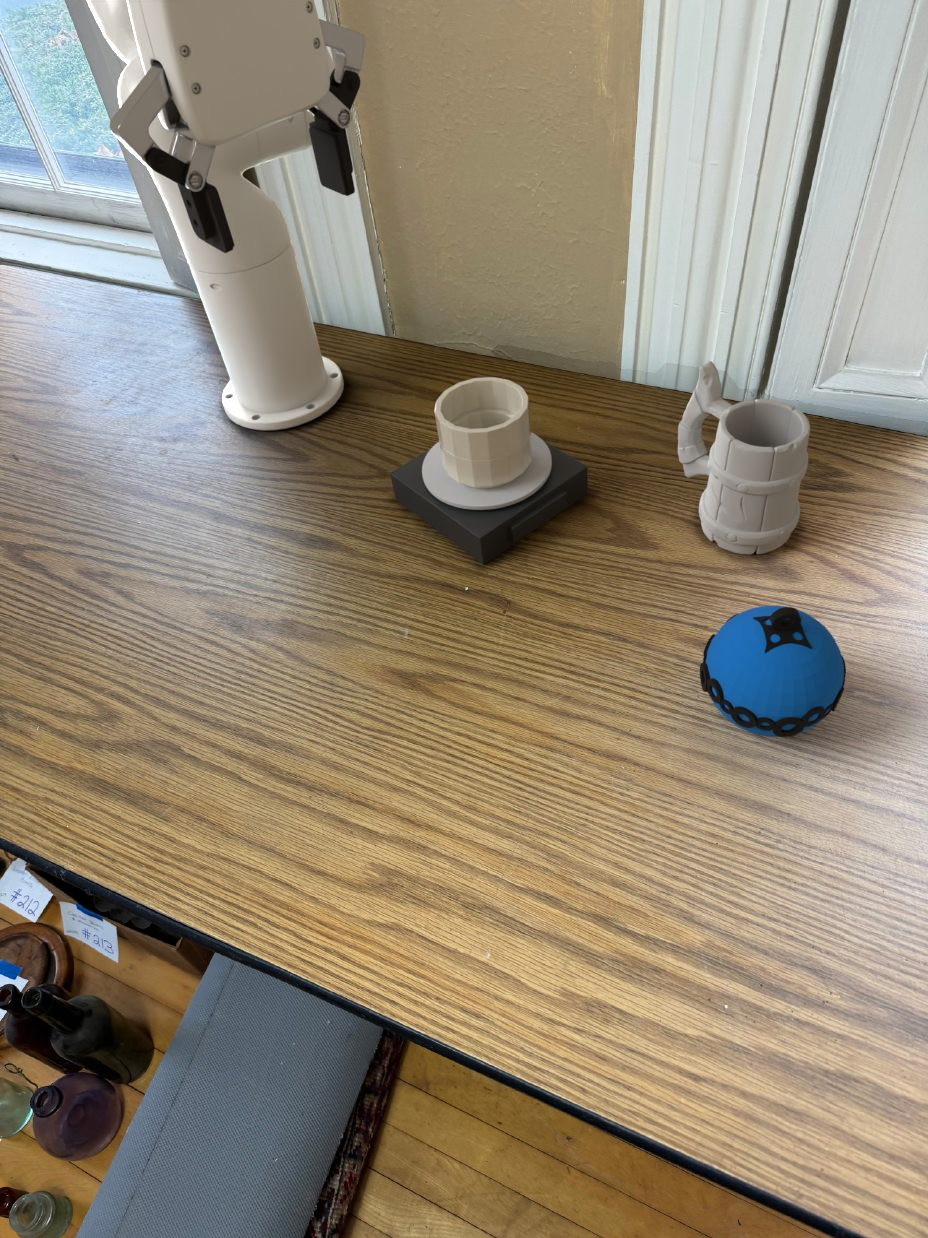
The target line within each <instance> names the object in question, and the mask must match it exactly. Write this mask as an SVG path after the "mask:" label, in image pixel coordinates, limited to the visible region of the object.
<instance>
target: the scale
mask: <svg viewBox="0 0 928 1238" xmlns="http://www.w3.org/2000/svg"><path fill="white" fill-rule="evenodd" d="M531 446H532V457H531V463H530V464H529V466H528V467H527V469H526V470H525V471H524V472H523V473H522V474H521V475H519V476H518V477H517V478H516V479H514V480H513V481H511V482H509V483H507V484H505V485H502V486H499V487H494V488H474V487H469V486H466V485H464V484H462V483H459V482H457V481H456V480H454V479H453V478H451V477H450V476H449V475H448V474H447V472H446V470H445V468H444V466H443V461H442V455H441V449H440V443H439V441H438V442H436V443H435V444H434V445H433V446H432V447H431V448H429V449H427V450H426V451H424V452H423V453H421V454H419V455H418V456H415V457H414V458H412V459H411V460H409V461H407V462H406V463H404V464H402V465H401V466H399V467H397V468H396V469H395V470H393V471H391V472H389V475H390V480H391V484H392V489H393V493H394V499H395V500H396V501H397V502H398V503H400V504H401V505H402V506H404V507H405V508H407V509H408V510H409V511H411V512H412V513H413V514H415V515H416V516H417V517H418V518H420V519H421V520H423V521H424V522H425V523H427V524H428V525H429V526H431V527H432V528H433V529H435V530H436V531H437V532H438V533H440V534H441V535H442V536H444V537H445V538H446V539H448V540H449V541H451V542H452V543H453V544H455V545H456V546H457V547H459V548H460V549H461V550H463V551H464V552H465V553H467V554H468V555H469V556H471V558H473V559H474V560H476V561H477V562H479V563H480V564H481V565H483V566H484V565H486V564H487V563H488V562H490V561H492V560H493V559H494V558H496V557H498V556H499V555H501V554H502V553H503V552H505V551H506V550H508V549H509V548H511V547H512V546H513V545H515V544H516V543H518V542H519V541H521V540H522V539H523V538H525V537H527V536H528V535H529V534H531V533H532V532H534V531H536V530H537V529H538V528H540V527H541V526H543V525H544V524H545V523H547V522H548V521H550V520H551V519H553V518H554V517H556V516H557V515H559V514H561V513H562V512H563V511H565V510H566V509H567V508H569V507H570V506H572V505H573V504H575V503H576V502H577V501H580V500H581V499H582V498H584V497H585V496H586V495H588V493H589V492H588V491H589V489H588V488H589V485H588V483H589V482H588V479H589V477H588V474H589V473H588V471H589V470H588V467H589V466H588V465H586V464H585V463H582V462H581V461H580V460H577V459H575V458H574V457H573V456H570V455H569V454H567V453H566V452H564V451H562V450H560V449H559V448H557V447H555V446H554V445H552V444H551V443H549V442H547V441H546V440H543V439H542V438H541V437H540V436H539V435H537V434H536V433H534V432H532V431H531Z"/></svg>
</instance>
